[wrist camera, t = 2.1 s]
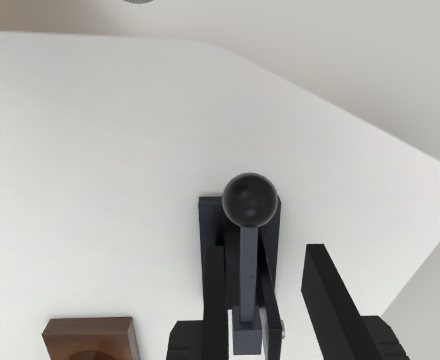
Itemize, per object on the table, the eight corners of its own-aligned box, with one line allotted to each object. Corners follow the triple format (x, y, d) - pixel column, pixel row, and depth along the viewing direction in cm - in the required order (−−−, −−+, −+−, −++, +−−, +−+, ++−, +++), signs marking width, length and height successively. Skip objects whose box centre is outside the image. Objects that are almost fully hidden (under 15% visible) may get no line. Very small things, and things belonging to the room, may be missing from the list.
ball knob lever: (221, 164, 21) (222, 188, 18) (274, 163, 21) (284, 187, 18) (223, 324, 28) (225, 362, 24) (264, 323, 28) (271, 361, 24)
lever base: (199, 196, 32) (190, 280, 21) (278, 195, 32) (310, 278, 21) (204, 300, 37) (199, 406, 27) (271, 298, 38) (293, 404, 27)
